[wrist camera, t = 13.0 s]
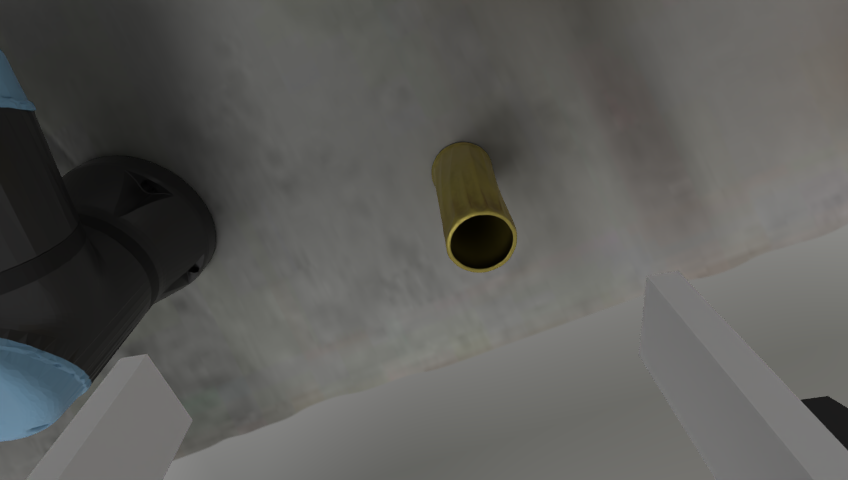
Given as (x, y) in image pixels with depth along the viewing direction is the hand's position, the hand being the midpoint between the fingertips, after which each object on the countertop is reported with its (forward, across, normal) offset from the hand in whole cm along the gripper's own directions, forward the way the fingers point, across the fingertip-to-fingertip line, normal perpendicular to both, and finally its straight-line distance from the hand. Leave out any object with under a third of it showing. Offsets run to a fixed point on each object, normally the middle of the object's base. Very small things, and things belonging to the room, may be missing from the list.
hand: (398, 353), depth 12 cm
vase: (+33, +4, -8) cm, 34 cm away
